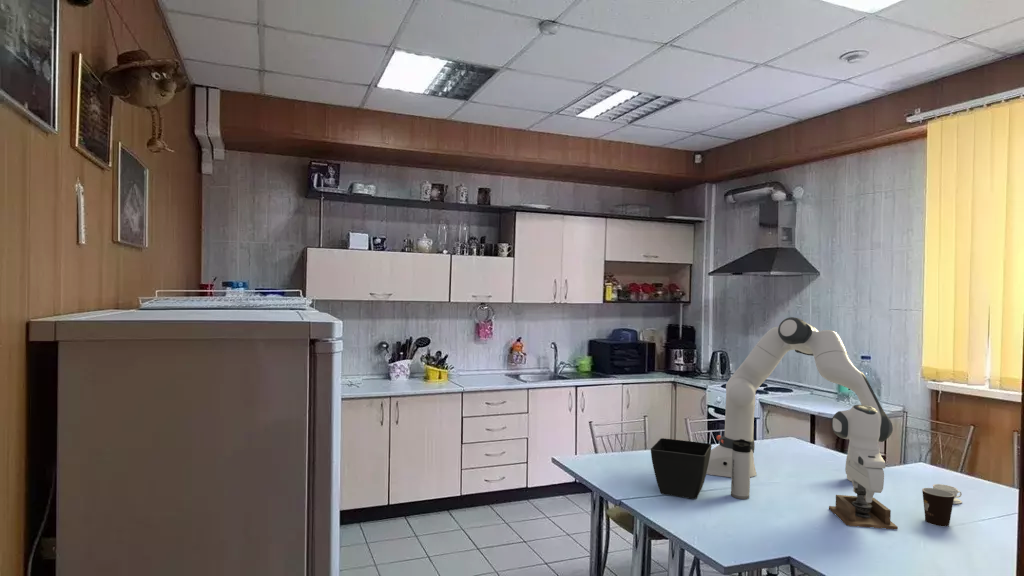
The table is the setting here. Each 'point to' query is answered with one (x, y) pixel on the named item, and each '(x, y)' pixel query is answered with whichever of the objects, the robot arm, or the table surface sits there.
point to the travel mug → (741, 469)
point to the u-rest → (847, 515)
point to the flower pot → (680, 466)
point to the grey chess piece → (861, 503)
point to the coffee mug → (937, 506)
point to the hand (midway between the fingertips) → (862, 497)
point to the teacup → (949, 489)
